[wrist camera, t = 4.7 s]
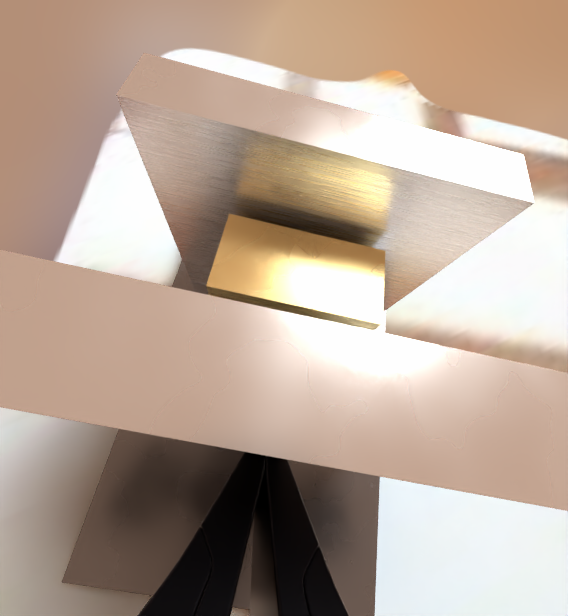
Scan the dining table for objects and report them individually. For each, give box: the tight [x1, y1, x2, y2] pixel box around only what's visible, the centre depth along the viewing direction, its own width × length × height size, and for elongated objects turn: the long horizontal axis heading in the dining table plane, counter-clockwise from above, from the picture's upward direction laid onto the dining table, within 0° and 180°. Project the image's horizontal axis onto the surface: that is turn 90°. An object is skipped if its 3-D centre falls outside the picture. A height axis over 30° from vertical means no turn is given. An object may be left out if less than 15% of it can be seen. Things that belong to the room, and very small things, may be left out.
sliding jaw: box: [0, 250, 568, 511], centre depth 10 cm, size 2×12×11 cm, turn 80°
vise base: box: [62, 53, 534, 616], centre depth 11 cm, size 20×14×12 cm
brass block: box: [206, 214, 386, 331], centre depth 13 cm, size 3×6×8 cm, turn 80°
